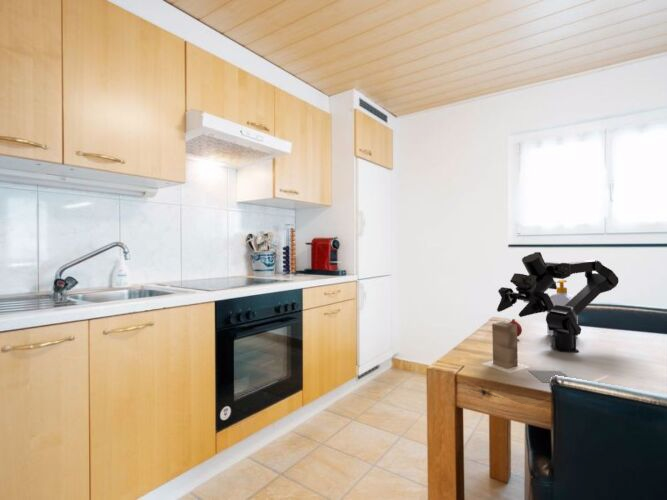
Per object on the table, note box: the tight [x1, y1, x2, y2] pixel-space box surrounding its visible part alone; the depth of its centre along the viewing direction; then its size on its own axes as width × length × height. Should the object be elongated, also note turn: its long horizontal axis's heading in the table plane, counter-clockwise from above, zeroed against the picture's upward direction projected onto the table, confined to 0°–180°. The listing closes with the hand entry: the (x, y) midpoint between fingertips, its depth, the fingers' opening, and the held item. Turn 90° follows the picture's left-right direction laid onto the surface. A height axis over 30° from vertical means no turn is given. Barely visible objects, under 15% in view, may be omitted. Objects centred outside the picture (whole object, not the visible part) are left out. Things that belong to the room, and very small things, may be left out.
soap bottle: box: [546, 279, 579, 338], centre depth 141 cm, size 9×7×23 cm
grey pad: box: [528, 369, 569, 384], centre depth 98 cm, size 9×9×1 cm
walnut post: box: [491, 321, 519, 369], centre depth 108 cm, size 5×5×13 cm
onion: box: [508, 318, 523, 338], centre depth 139 cm, size 6×6×8 cm
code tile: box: [480, 359, 530, 374], centre depth 108 cm, size 10×10×1 cm
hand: (508, 313), depth 115 cm, fingers open, 9 cm apart
